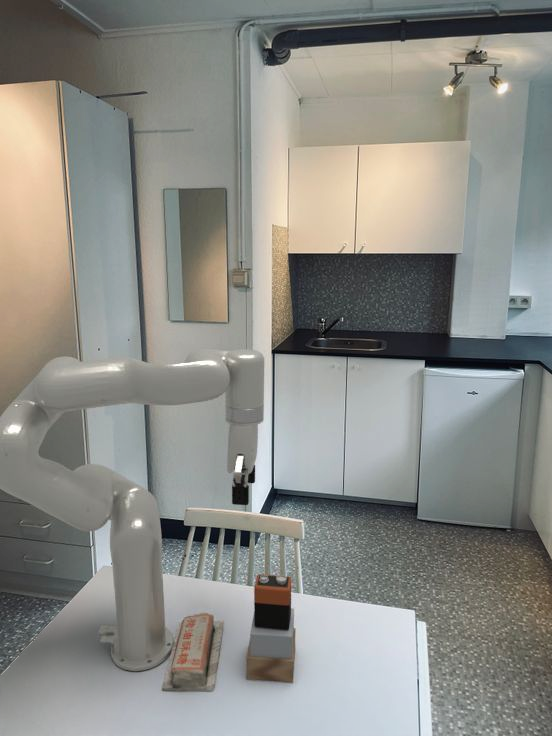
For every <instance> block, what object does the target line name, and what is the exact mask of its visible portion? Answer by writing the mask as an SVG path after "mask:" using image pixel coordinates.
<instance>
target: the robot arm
mask: <svg viewBox="0 0 552 736" xmlns="http://www.w3.org/2000/svg"><path fill="white" fill-rule="evenodd" d="M224 393H225V394H224ZM223 394H224V395H225V400H224V401H225V402H224V403H225V404H224V405H225V408H224V409H225V412H224V413H225V422H226V423H228V424H229V427H228V436H227V437H228V439H227V459H226V460H227V461H226V462H227V463H226V465H227V466H226V471H227V473H228V474H231V473H233V474H232V475H233V477H232V485H231V503H232V505H234V506H235V505H237V506H248V505H249V502H250V501H249V500H250V496H249V495H250V493H249V492H250V485H249V484H255V482H256V464H255V463H256V459H257V455H258V442H259V441H258V440H259V439H258V438H259V435H258V434H259V432H258V431H259V428H258V427H259V425H260V424H262V423H263V422H264V417H265V415H264V411H265V410H264V408H265V406H264V405H265V357H264V354H263V353H262V352H261V351H259V350H255V349H248V348H247V349H246V348H245V349H235V350H223V349H222V350H221V349H213V348H199V349H194V350H193V351H191V352H190V353H189V354H188V355H187V356H186V358H185V360H184V362H182V363H180V362H179V363H169V364H168V363H167V364H161V363H150V362H146V361H143V360H140V359H137V358H134V357H126V356H122V357H114V358H105V359H97V360H96V359H95V360H89V361H88V360H87V361H81V360H79V359H78V358H75V357H73V356H58V357H55V358H52V359H51V360H50V361H48V362H47V363H46V364H45V365H44V366H43V367H42V369H41V370H40V371H39V372H38V374H37V375H36V376H34V378H33V379H32V381H31V382H30V383H29V384H28V385H27V386H25V388H24V389H23V390H22V391H21V392H20V394H18V396H17V397H16V398H14V400H13V401H12V402H11V403H10V404H8V406H7V408H6V409H5V410H4V411H3V413H2V414H1V416H0V490H1V491H4V492H5V493H7V494H9V495H10V496H13V497H15V498H16V499H19V500H22V501H24V502H26V503H28V504H29V505H31V506H33V507H36V508H37V509H39V510H40V511H42V512H44V513H46V514H48V515H50V516H52V517H54V518H55V519H58V520H59V521H62V522H64V523H66V524H67V525H69V526H71V527H73V528H75V529H78V530H79V531H84V532H94V531H98V530H100V529H102V528H103V527H104V526H105V525H106V524H107V523H108V521H110V528H109V529H110V530H109V531H110V532H109V550H110V552H109V553H110V558H111V564H112V565H111V566H112V578H113V588H114V599H115V601H114V602H115V614H116V624H115V625H114V626H113V625H112V626H111V625H100V626H99V629H98V636H101V637H100V641H99V642H100V644H111V647H110V656H111V659H112V661H113V663H114V664H115V665H116V666H117V667H119V668H120V669H122V670H126V671H130V672H139V671H147V670H149V669H152V668H155V667H157V666H158V665H160V664H162V663H163V662H165V661H166V660H167V658H169V656H170V655H171V651H172V648H173V644H174V636H173V633H172V632H171V630H170V629H169V627H166V617H165V615H166V613H165V596H164V594H165V593H164V578H163V555H162V553H163V546H162V545H163V540H162V528H161V518H160V511H159V505H158V502H157V499H156V498H155V496H154V495H153V494H152V493H151V492H150V491H148V489H146V488H144V487H142V486H141V485H140V484H137V483H136V482H134V481H132V480H130V478H129V479H128V478H127V477H125V476H124V475H121V474H120V473H118V472H116V471H114V470H113V469H111V468H109V467H107V466H104V465H101V464H98V463H96V464H95V463H88V464H84V465H81V466H78V467H77V468H75V469H74V470H71V469H69V468H68V467H66V466H64V465H63V464H62V463H59V462H57V461H54V460H51V459H47V458H44V457H41V456H40V455H39V452H40V451H39V450H40V448H41V447H40V446H41V445H42V443H43V441H44V439H45V437H46V434H47V432H48V431H49V430H50V428H51V427H52V426H53V425H54V424H55V423H56V421H57V420H58V419H60V417H62V415H63V414H64V413H65V412H71V411H73V412H74V411H81V410H87V409H95V408H96V409H97V408H102V407H110V406H119V405H126V404H138V405H144V406H145V405H147V406H148V405H153V406H178V405H179V406H181V405H189V404H195V403H196V404H197V403H202V402H208V401H212V400H214V399H217V398H219V397H220V396H222V395H223Z"/></svg>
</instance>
